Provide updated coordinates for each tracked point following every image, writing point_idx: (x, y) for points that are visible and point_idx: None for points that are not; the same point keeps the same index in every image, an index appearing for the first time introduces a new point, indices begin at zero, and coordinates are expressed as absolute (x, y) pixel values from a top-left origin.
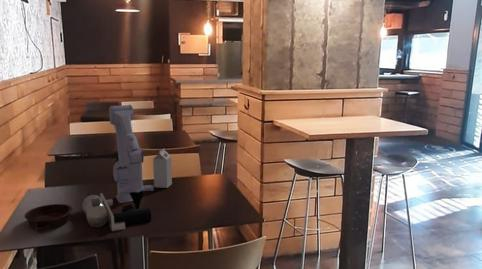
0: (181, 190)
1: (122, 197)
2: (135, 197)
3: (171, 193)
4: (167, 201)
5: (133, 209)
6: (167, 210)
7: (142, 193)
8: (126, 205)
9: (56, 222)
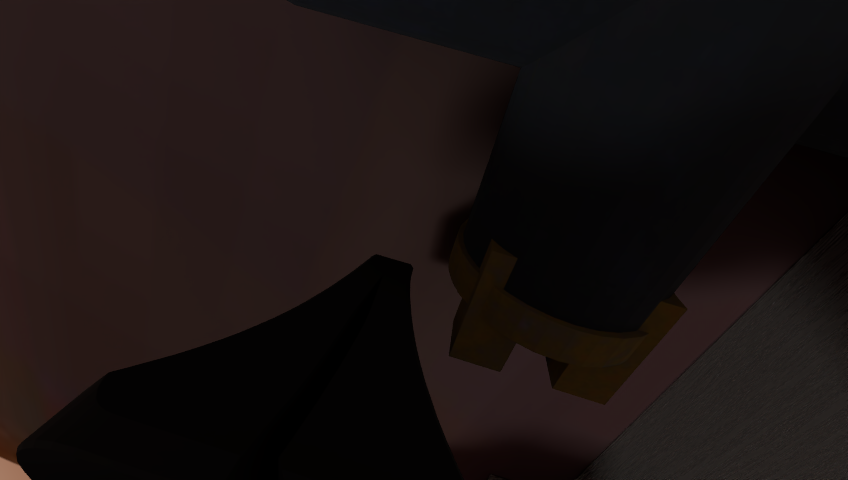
0: (2, 364)
1: None
2: (360, 428)
3: (66, 370)
4: (88, 282)
5: (578, 113)
6: (77, 75)
7: (46, 464)
8: (597, 343)
9: None
